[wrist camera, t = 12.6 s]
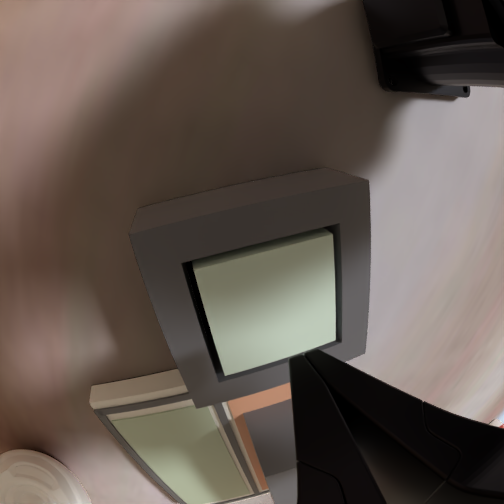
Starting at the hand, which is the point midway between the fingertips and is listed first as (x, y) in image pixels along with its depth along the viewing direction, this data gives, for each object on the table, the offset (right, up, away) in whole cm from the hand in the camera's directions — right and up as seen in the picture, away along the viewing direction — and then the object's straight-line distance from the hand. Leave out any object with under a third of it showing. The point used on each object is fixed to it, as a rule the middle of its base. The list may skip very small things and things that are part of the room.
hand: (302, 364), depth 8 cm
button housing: (-1, +2, +5) cm, 6 cm away
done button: (-1, +2, +4) cm, 5 cm away
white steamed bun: (-16, -12, +7) cm, 21 cm away
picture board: (-2, -9, +9) cm, 13 cm away
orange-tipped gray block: (+1, -9, +9) cm, 13 cm away
